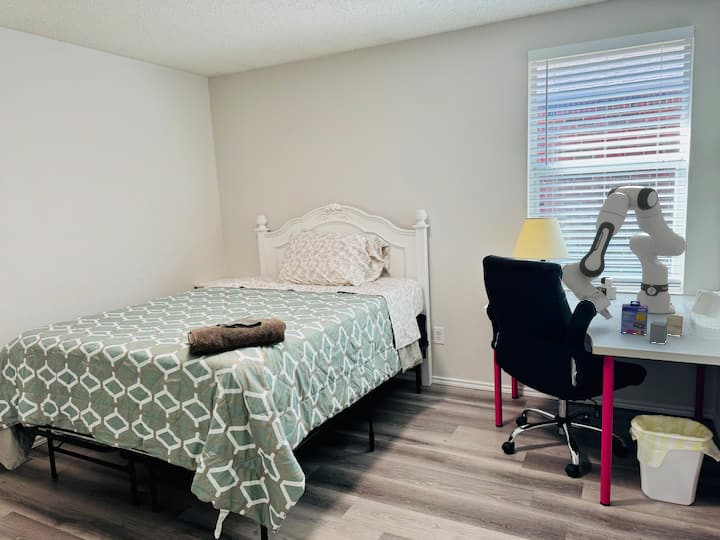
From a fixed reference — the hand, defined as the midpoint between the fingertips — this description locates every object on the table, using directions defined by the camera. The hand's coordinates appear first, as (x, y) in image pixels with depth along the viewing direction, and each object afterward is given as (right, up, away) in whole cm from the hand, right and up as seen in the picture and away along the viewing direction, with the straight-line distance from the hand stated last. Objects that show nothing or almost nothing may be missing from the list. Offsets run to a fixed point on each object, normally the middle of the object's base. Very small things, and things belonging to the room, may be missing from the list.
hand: (610, 318), depth 221 cm
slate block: (+10, -8, -19) cm, 23 cm away
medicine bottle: (+29, +5, +62) cm, 68 cm away
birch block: (+22, -6, -10) cm, 25 cm away
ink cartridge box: (+7, -6, -5) cm, 11 cm away
